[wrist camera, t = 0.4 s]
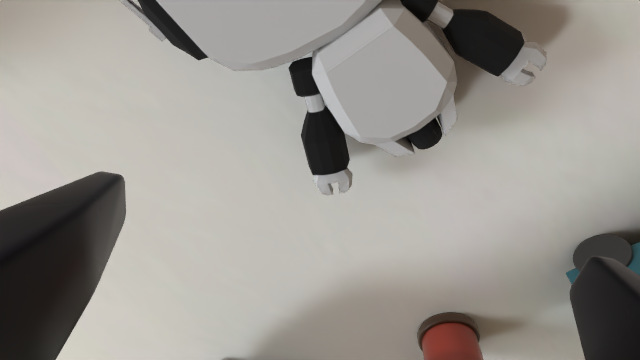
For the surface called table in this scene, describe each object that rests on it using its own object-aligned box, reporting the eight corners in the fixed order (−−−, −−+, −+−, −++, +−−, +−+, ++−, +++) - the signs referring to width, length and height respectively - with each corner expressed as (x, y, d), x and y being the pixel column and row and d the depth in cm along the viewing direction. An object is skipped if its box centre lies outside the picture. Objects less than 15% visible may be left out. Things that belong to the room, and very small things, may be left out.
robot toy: (540, 39, 22) (350, -343, 15) (585, 81, 18) (361, -403, 11) (322, 174, 26) (94, -76, 19) (323, 230, 22) (41, -55, 15)
